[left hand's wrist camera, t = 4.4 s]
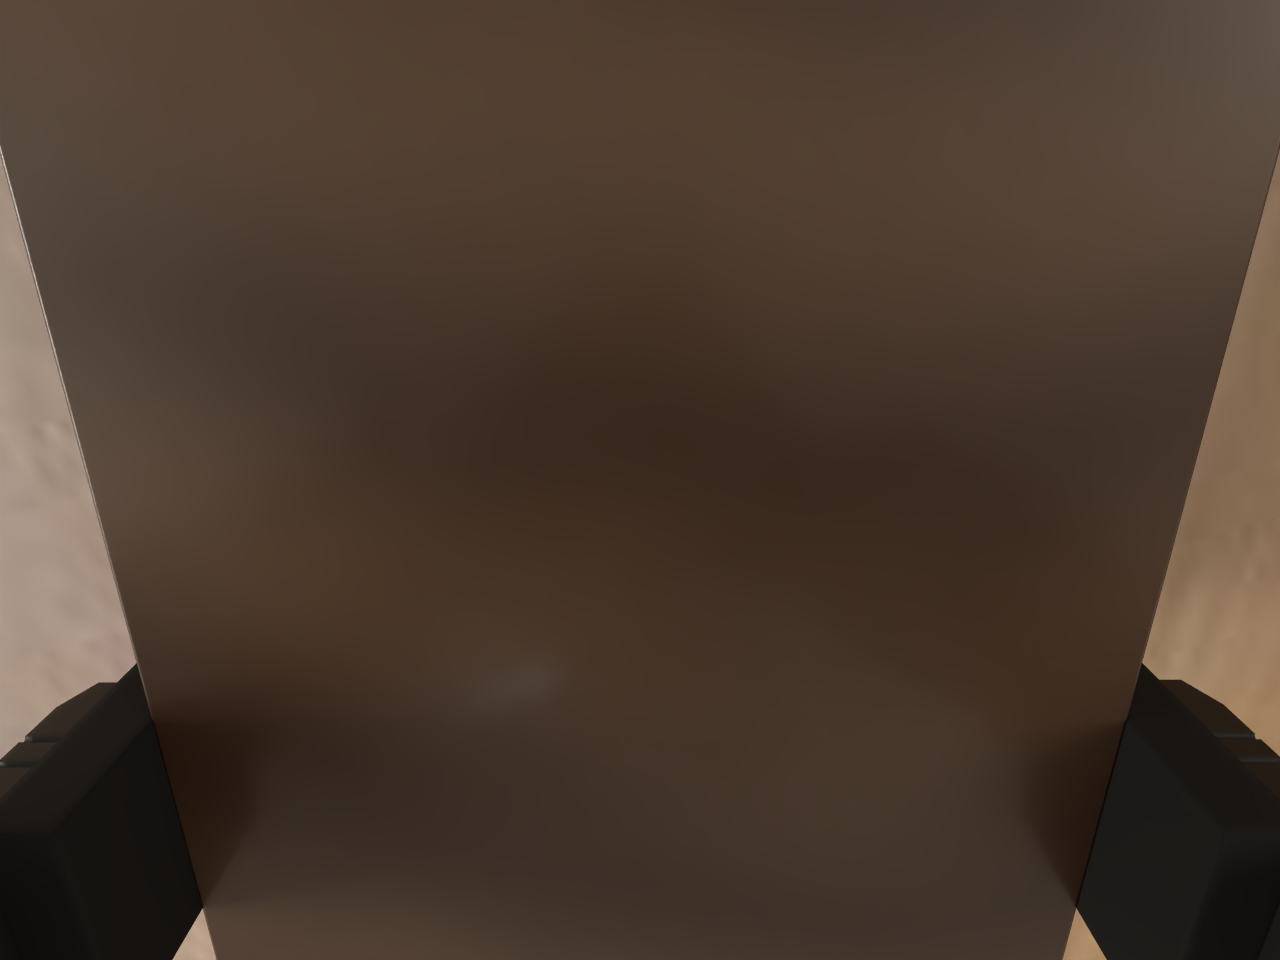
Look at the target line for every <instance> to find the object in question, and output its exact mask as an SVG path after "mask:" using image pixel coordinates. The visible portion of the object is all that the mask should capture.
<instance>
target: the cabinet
mask: <svg viewBox="0 0 1280 960" xmlns="http://www.w3.org/2000/svg"><path fill="white" fill-rule="evenodd" d="M1279 149H1280V0H0V155H1V159H2V163H3V166H4V170H5V174H6V178H7V181H8V185H9V189H10V192H11V196H12V200H13V204H14V207H15V211H16V215H17V219H18V222H19V226H20V230H21V233H22V237H23V241H24V245H25V248H26V252H27V256H28V260H29V263H30V267H31V271H32V274H33V278H34V282H35V286H36V289H37V293H38V297H39V300H40V304H41V308H42V312H43V315H44V319H45V323H46V327H47V330H48V334H49V338H50V341H51V345H52V349H53V353H54V356H55V360H56V364H57V367H58V371H59V375H60V379H61V382H62V386H63V390H64V394H65V397H66V401H67V405H68V408H69V412H70V416H71V420H72V423H73V427H74V431H75V434H76V438H77V442H78V446H79V449H80V453H81V457H82V461H83V464H84V468H85V472H86V475H87V479H88V483H89V487H90V490H91V494H92V498H93V502H94V505H95V509H96V513H97V516H98V520H99V524H100V528H101V531H102V535H103V539H104V542H105V546H106V550H107V554H108V557H109V561H110V565H111V569H112V572H113V576H114V580H115V583H116V587H117V591H118V595H119V598H120V602H121V606H122V609H123V613H124V617H125V621H126V624H127V628H128V632H129V636H130V639H131V643H132V647H133V650H134V654H135V658H136V662H137V665H138V669H139V673H140V676H141V680H142V684H143V688H144V691H145V695H146V699H147V703H148V706H149V710H150V714H151V717H152V721H153V725H154V729H155V732H156V736H157V740H158V744H159V747H160V751H161V755H162V758H163V762H164V766H165V770H166V773H167V777H168V781H169V784H170V788H171V792H172V796H173V799H174V803H175V807H176V811H177V814H178V818H179V822H180V825H181V829H182V833H183V837H184V840H185V844H186V848H187V851H188V855H189V859H190V863H191V866H192V870H193V874H194V878H195V881H196V885H197V889H198V892H199V896H200V900H201V904H202V907H203V911H204V915H205V918H206V922H207V926H208V930H209V933H210V937H211V941H212V945H213V948H214V952H215V956H216V959H217V960H1062V959H1063V955H1064V952H1065V948H1066V944H1067V940H1068V937H1069V933H1070V929H1071V926H1072V922H1073V918H1074V914H1075V911H1076V907H1077V903H1078V899H1079V896H1080V892H1081V888H1082V884H1083V881H1084V877H1085V873H1086V870H1087V866H1088V862H1089V858H1090V855H1091V851H1092V847H1093V843H1094V840H1095V836H1096V832H1097V828H1098V825H1099V821H1100V817H1101V814H1102V810H1103V806H1104V802H1105V799H1106V795H1107V791H1108V787H1109V784H1110V780H1111V776H1112V773H1113V769H1114V765H1115V761H1116V758H1117V754H1118V750H1119V746H1120V743H1121V739H1122V735H1123V731H1124V728H1125V724H1126V720H1127V717H1128V713H1129V709H1130V705H1131V702H1132V698H1133V694H1134V690H1135V687H1136V683H1137V679H1138V676H1139V672H1140V668H1141V664H1142V661H1143V657H1144V653H1145V649H1146V646H1147V642H1148V638H1149V634H1150V631H1151V627H1152V623H1153V620H1154V616H1155V612H1156V608H1157V605H1158V601H1159V597H1160V593H1161V590H1162V586H1163V582H1164V578H1165V575H1166V571H1167V567H1168V564H1169V560H1170V556H1171V552H1172V549H1173V545H1174V541H1175V537H1176V534H1177V530H1178V526H1179V523H1180V519H1181V515H1182V511H1183V508H1184V504H1185V500H1186V496H1187V493H1188V489H1189V485H1190V481H1191V478H1192V474H1193V470H1194V467H1195V463H1196V459H1197V455H1198V452H1199V448H1200V444H1201V440H1202V437H1203V433H1204V429H1205V426H1206V422H1207V418H1208V414H1209V411H1210V407H1211V403H1212V399H1213V396H1214V392H1215V388H1216V384H1217V381H1218V377H1219V373H1220V370H1221V366H1222V362H1223V358H1224V355H1225V351H1226V347H1227V343H1228V340H1229V336H1230V332H1231V328H1232V325H1233V321H1234V317H1235V314H1236V310H1237V306H1238V302H1239V299H1240V295H1241V291H1242V287H1243V284H1244V280H1245V276H1246V273H1247V269H1248V265H1249V261H1250V258H1251V254H1252V250H1253V246H1254V243H1255V239H1256V235H1257V231H1258V228H1259V224H1260V220H1261V217H1262V213H1263V209H1264V205H1265V202H1266V198H1267V194H1268V190H1269V187H1270V183H1271V179H1272V176H1273V172H1274V168H1275V164H1276V161H1277V157H1278V153H1279Z"/></svg>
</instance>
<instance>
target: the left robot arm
mask: <svg viewBox="0 0 1280 960" xmlns="http://www.w3.org/2000/svg"><path fill="white" fill-rule="evenodd" d="M202 908H203V907H202V904H201V900H200V896H199V892H198V889H197V885H196V881H195V878H194V874H193V870H192V866H191V863H190V859H189V855H188V851H187V848H186V844H185V840H184V837H183V833H182V829H181V825H180V822H179V818H178V814H177V811H176V807H175V803H174V799H173V796H172V792H171V788H170V784H169V781H168V777H167V773H166V770H165V766H164V762H163V758H162V755H161V751H160V747H159V744H158V740H157V736H156V732H155V729H154V725H153V721H152V717H151V714H150V710H149V706H148V703H147V699H146V695H145V691H144V688H143V684H142V680H141V676H140V673H139V669H138V665H137V663H136V664H135V665H134V666H133V667H132V668H131V669H130V670H129V671H128V672H127V673H126V674H125V675H124V676H123V677H122V678H121V679H120V680H119V681H118V682H117V683H97V684H96V685H94V686H92V687H90V688H89V689H87V690H85V691H84V692H82V693H80V694H79V695H77V696H75V697H73V698H72V699H70V700H68V701H67V702H65V703H63V704H61V705H60V706H58V707H56V708H55V709H54V710H53V711H52V712H51V713H50V714H49V715H48V716H47V717H46V718H45V719H44V720H42V721H41V722H40V723H39V724H38V725H37V726H36V727H35V728H34V729H33V730H32V731H31V732H30V733H28V734H27V735H26V736H25V741H24V742H19V743H18V744H17V745H16V746H15V747H13V748H12V749H11V750H10V751H9V752H8V753H7V754H6V755H5V756H4V757H3V758H2V759H1V760H0V960H172V959H173V958H174V956H175V954H176V952H177V951H178V949H179V947H180V946H181V944H182V942H183V941H184V939H185V937H186V935H187V934H188V932H189V930H190V929H191V927H192V925H193V923H194V922H195V920H196V918H197V917H198V915H199V913H200V912H201V910H202ZM1076 908H1077V910H1078V911H1079V913H1080V915H1081V916H1082V918H1083V920H1084V922H1085V923H1086V925H1087V927H1088V928H1089V930H1090V932H1091V933H1092V935H1093V937H1094V939H1095V940H1096V942H1097V944H1098V945H1099V947H1100V949H1101V951H1102V952H1103V954H1104V956H1105V957H1106V959H1107V960H1280V757H1279V756H1278V755H1277V754H1276V753H1275V752H1274V751H1273V750H1272V749H1271V748H1270V747H1269V746H1268V745H1266V744H1265V743H1264V742H1263V741H1262V740H1261V739H1255V733H1254V732H1252V731H1251V730H1250V729H1249V728H1248V727H1247V726H1246V725H1245V724H1244V723H1243V722H1242V721H1241V720H1239V719H1238V718H1237V717H1236V716H1235V715H1234V714H1233V713H1232V712H1231V711H1230V710H1229V709H1228V708H1227V707H1225V706H1224V705H1223V704H1222V703H1220V702H1218V701H1216V700H1215V699H1213V698H1211V697H1210V696H1208V695H1206V694H1204V693H1203V692H1201V691H1199V690H1198V689H1196V688H1194V687H1192V686H1191V685H1189V684H1187V683H1185V682H1184V681H1182V680H1159V679H1158V678H1157V677H1156V676H1155V675H1154V674H1153V673H1152V672H1151V671H1150V670H1149V669H1148V668H1147V667H1146V666H1145V665H1144V664H1143V663H1142V664H1141V668H1140V672H1139V676H1138V679H1137V683H1136V687H1135V690H1134V694H1133V698H1132V702H1131V705H1130V709H1129V713H1128V717H1127V720H1126V724H1125V728H1124V731H1123V735H1122V739H1121V743H1120V746H1119V750H1118V754H1117V758H1116V761H1115V765H1114V769H1113V773H1112V776H1111V780H1110V784H1109V787H1108V791H1107V795H1106V799H1105V802H1104V806H1103V810H1102V814H1101V817H1100V821H1099V825H1098V828H1097V832H1096V836H1095V840H1094V843H1093V847H1092V851H1091V855H1090V858H1089V862H1088V866H1087V870H1086V873H1085V877H1084V881H1083V884H1082V888H1081V892H1080V896H1079V899H1078V903H1077V907H1076Z"/></svg>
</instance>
